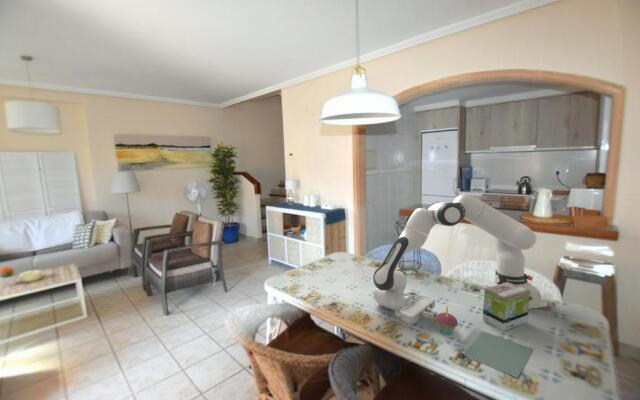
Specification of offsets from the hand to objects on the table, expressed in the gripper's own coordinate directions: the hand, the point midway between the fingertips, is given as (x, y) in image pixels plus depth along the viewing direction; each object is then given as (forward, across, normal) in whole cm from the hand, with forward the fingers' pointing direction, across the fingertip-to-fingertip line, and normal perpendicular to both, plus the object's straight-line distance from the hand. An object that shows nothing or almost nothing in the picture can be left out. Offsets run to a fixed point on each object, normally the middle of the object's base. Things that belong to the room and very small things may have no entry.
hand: (435, 315), depth 124 cm
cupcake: (+5, 0, +5) cm, 7 cm away
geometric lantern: (-40, +46, +5) cm, 61 cm away
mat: (+22, 0, +5) cm, 23 cm away
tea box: (+20, +23, +5) cm, 31 cm away
